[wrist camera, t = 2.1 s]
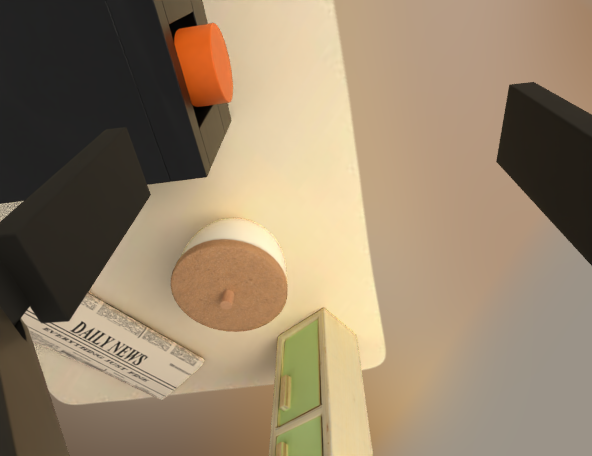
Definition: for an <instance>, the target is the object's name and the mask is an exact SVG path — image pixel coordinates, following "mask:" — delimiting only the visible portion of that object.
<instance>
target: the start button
mask: <svg viewBox="0 0 592 456" xmlns="http://www.w3.org/2000/svg"><path fill="white" fill-rule="evenodd" d="M174 44H175V48H176V51H177V55H178V58H179V61H180V65H181V68H182V72H183V75H184V78H185V82H186V85H187V89H188V92H189V96H190V99H191V102H192V105H193V106H195V107H203V106H209V105H216V104H223V103H229V102H231V100H232V95H233V81H232V72H231V66H230V61H229V56H228V52H227V48H226V45H225V42H224V39H223V36H222V34H221V31H220V29H219V28H218V26H217V25H216V24H215V23H210V24H204V25H198V26H192V27H186V28H180V29H178V30H177V31H176V33H175V37H174Z"/></svg>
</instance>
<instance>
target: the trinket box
mask: <svg viewBox="0 0 592 456" xmlns="http://www.w3.org/2000/svg"><path fill="white" fill-rule="evenodd" d="M171 290H172V294H173V296H174V299H175V301H176V302H177V304H178V305H179V307H180V308H181V309H182V310H183V311H184V312H185V313H186V314H187V315H188V316H189V317H191V318H192V319H194V320H195V321H197V322H199V323H201V324H203V325H205V326H208V327H210V328H213V329H217V330H223V331H234V332H237V331H247V330H252V329H256V328H259V327H261V326H263V325H265V324H267V323H269V322H270V321H272V320H273V319H274V318H275V317H276V316H278V315H279V313H280V312H281V311H282V309H283V307H284V305H285V303H286V299H287V270H286V263H285V258H284V254H283V252H282V249H281V247H280V245H279V243H278V242H277V240H276V238H275V237H274V236H273V235H272V234H271V233H270V232H269V231H268V230H267V229H265V228H264V227H263V226H261V225H259V224H257V223H255V222H253V221H250V220H247V219H242V218H226V219H222V220H217V221H215V222H212V223H210V224H209V225H207V226H205V227H204V228H202V229H201V230H200V231H198V232H197V233H196V234H195V235H194V236H193V238H192V239H191V240H190V241H189V243H188V244H187V246H186V247H185V249H184V251H183V253H182V255H181V257H180V259H179V260H178V262H177V264H176V266H175V268H174V270H173V272H172V276H171Z"/></svg>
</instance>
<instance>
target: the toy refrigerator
mask: <svg viewBox="0 0 592 456" xmlns="http://www.w3.org/2000/svg"><path fill="white" fill-rule="evenodd" d="M269 456H373V451H372V444H371V437H370V430H369V423H368V415H367V408H366V401H365V393H364V386H363V378H362V371H361V364H360V357H359V350H358V342H357V337H356V335H355V334H354V333H353V332H352V331H351V330H350V329H349V328H347V327H346V326H345V325H344V324H343V323H342V322H340V321H339V320H338V319H337V318H336V317H335V316H333V315H332V314H331V313H330V312H329V311H327V310H326V309H325V308H323V309H321V310H319V311H318V312H316V313H315V314H313V315H312V316H310V317H308V318H307V319H305V320H304V321H302V322H300V323H299V324H297V325H296V326H294V327H292V328H291V329H289V330H287V331H286V332H284V333H283V334H281V335H280V336H279V337H278V340H277V354H276V369H275V384H274V398H273V411H272V424H271V437H270V449H269Z"/></svg>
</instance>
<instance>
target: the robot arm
mask: <svg viewBox="0 0 592 456" xmlns="http://www.w3.org/2000/svg"><path fill="white" fill-rule="evenodd" d="M497 163H498V164H499V165H500V166H501V167H502V168H503V169H504V170H505V171H506V172H507V174H508V175H509V176H511V178H512V179H513V180H514V181H515V182H516V183H517V184H518V186H519V187H520V188H521V189H522V190H523V191H524V192H525V193H526V194H527V195H528V196H529V197H530V199H531V200H532V201H533V202H534V203H535V204H536V205H537V206H538V207H539V209H540V210H541V211H542V212H543V213H544V214H545V215H546V216H547V217H548V218H549V219H550V221H551V222H552V223H553V224H554V225H555V226H556V227H557V228H558V229H559V230H560V231H561V233H563V235H564V236H565V237H566V238H567V239H568V240H569V241H570V242H571V243H572V244H573V246H574V247H575V248H576V249H577V250H578V251H579V252H580V253H581V254H582V255H583V257H584V258H585V259H586V260H587V261H588V262H589V263H590V264H591V265H592V115H591V114H589V113H588V112H586V111H584V110H582V109H581V108H579V107H577V106H575V105H573V104H572V103H570V102H568V101H566V100H565V99H563V98H561V97H559V96H558V95H556V94H554V93H552V92H550V91H549V90H547V89H545V88H543V87H542V86H540V85H538V84H536V83H534V82H530V83H521V84H512V85H509V90H508V96H507V102H506V108H505V114H504V120H503V126H502V132H501V138H500V144H499V149H498V155H497ZM150 195H151V194H150V191H149V189H148V186H147V183H146V180H145V178H144V175H143V172H142V169H141V167H140V164H139V161H138V158H137V155H136V153H135V150H134V147H133V144H132V142H131V139H130V136H129V133H128V130H127V128H126V127H123V128H114V129H106V130H105V131H103V132H102V133H101V134H100V135H99V136H98V137H97V138H95V139H94V140H93V141H92V142H91V143H90V144H89V145H87V146H86V147H85V148H84V149H83V150H82V151H81V152H79V153H78V154H77V155H76V156H75V157H74V158H73V159H71V160H70V161H69V162H68V163H67V164H66V165H65V166H63V167H62V168H61V169H60V170H59V171H58V172H57V173H55V174H54V175H53V176H52V177H51V178H50V179H49V180H47V181H46V182H45V183H44V184H43V185H42V186H41V187H40V188H38V189H37V190H36V191H35V192H34V193H33V194H32V195H30V196H29V197H28V198H27V199H26V200H25V201H24V202H22V203H21V204H20V205H19V206H18V207H17V208H16V209H14V210H13V211H12V212H11V213H10V214H9V215H8V216H6V217H5V218H4V219H3V220H2V221H1V222H0V456H70V455H69V452H68V450H67V446H66V443H65V440H64V437H63V434H62V431H61V428H60V425H59V422H58V418H57V416H56V412H55V409H54V406H53V403H52V400H51V397H50V394H49V391H48V388H47V385H46V381H45V378H44V375H43V372H42V369H41V366H40V363H39V360H38V357H37V354H36V351H35V348H34V345H33V341H32V338H31V335H30V332H29V329H28V327H27V326H26V324H25V323H24V322H23V320H22V319H21V317H22V316H23V315H24V313H25V312H26V311H27V310H28V308H29V307H30V308H31V309H32V311H33V312H34V314H35V315H36V317H37V318H38V320H39V321H40V323H54V322H68V321H70V319H71V318H72V316H73V315H74V313H75V311H76V310H77V308H78V307H79V305H80V304H81V302H82V301H83V299H84V298H85V296H86V294H87V293H88V291H89V290H90V288H91V287H92V285H93V284H94V282H95V280H96V279H97V277H98V276H99V274H100V273H101V271H102V270H103V268H104V266H105V265H106V263H107V262H108V260H109V259H110V257H111V256H112V254H113V253H114V251H115V249H116V248H117V246H118V245H119V243H120V242H121V240H122V239H123V237H124V235H125V234H126V232H127V231H128V229H129V228H130V226H131V225H132V223H133V221H134V220H135V218H136V217H137V215H138V214H139V212H140V211H141V209H142V208H143V206H144V204H145V203H146V201H147V200H148V198H149V197H150Z"/></svg>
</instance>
